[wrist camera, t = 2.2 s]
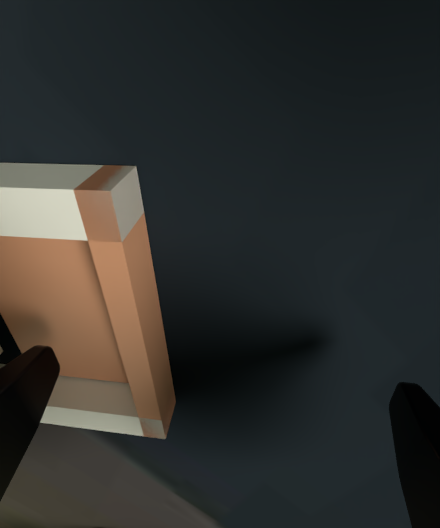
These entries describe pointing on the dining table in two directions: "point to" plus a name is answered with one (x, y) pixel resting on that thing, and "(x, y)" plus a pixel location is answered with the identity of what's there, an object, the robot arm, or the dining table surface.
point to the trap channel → (86, 293)
